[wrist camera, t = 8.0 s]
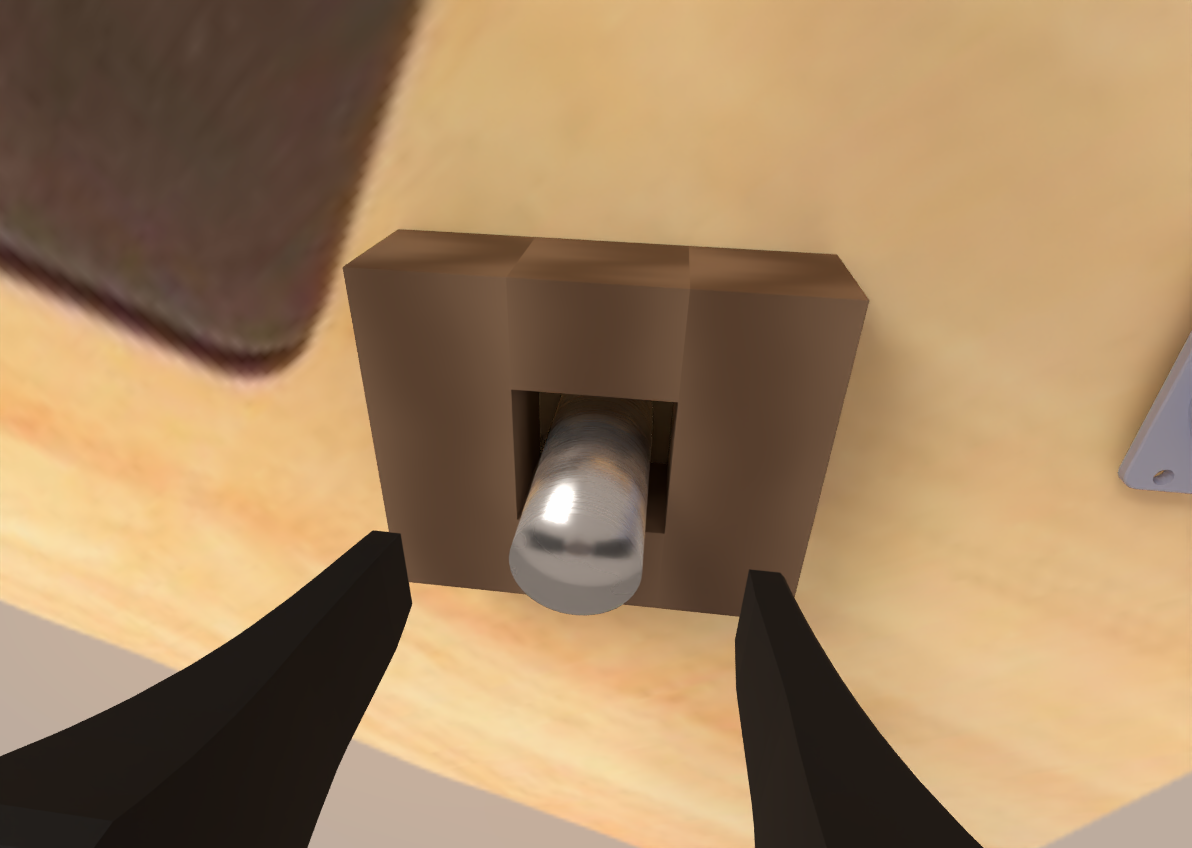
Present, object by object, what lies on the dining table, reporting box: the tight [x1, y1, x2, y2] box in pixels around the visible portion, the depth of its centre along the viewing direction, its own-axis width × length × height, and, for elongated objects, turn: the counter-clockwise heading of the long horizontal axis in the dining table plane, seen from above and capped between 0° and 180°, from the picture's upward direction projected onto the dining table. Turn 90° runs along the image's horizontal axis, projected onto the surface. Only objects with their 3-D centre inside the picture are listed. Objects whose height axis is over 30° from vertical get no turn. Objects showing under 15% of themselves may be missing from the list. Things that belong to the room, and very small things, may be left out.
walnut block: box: [343, 229, 869, 617], centre depth 19 cm, size 12×10×4 cm
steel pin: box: [509, 393, 654, 615], centre depth 18 cm, size 3×3×7 cm
